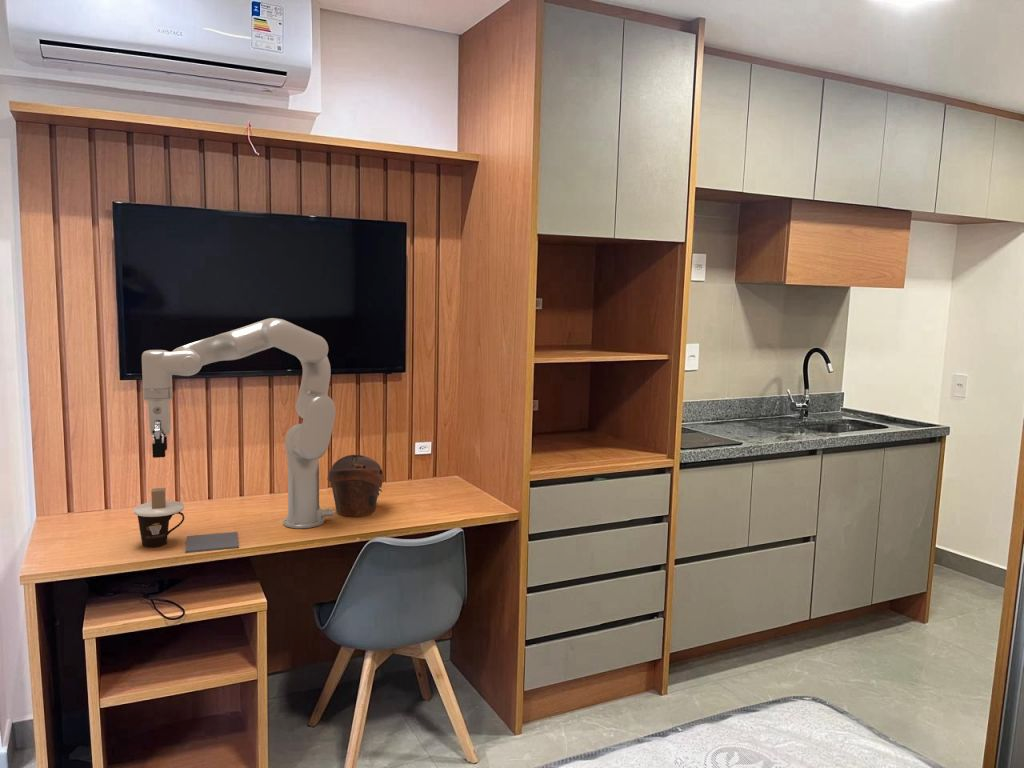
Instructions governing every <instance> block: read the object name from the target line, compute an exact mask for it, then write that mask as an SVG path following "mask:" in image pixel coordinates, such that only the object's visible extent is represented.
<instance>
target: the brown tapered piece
mask: <svg viewBox="0 0 1024 768" xmlns="http://www.w3.org/2000/svg"><path fill="white" fill-rule="evenodd" d="M383 472H384V471H383V468H382V467H381V466H380V464H379V463H378V462H377V461H376V460H374V459H372V458H370V457H368V456H365V455H361V454H350V455H349V454H348V455H345V456H342V457H340V458H339V459H337V461H335V462H334V463H333V464H332V466H331V468H330V470H329V471H328V476H327V482H328V483H329V482H330V485H331V489H332V495H333V500H334V505H335V513H336V514H338V515H340V516H344V517H345V516H346V517H350V518H351V517H352V518H354V517H355V518H356V517H364V516H365V517H366V516H368V515H369V516H370V515H372V514H373V513H374V512H375V511H376V507H377V501H378V497H379V496H380V492H381V493H383V491H382V486H383V479H384V473H383Z"/></svg>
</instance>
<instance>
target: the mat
mask: <svg viewBox="0 0 1024 768" xmlns="http://www.w3.org/2000/svg"><path fill="white" fill-rule="evenodd" d="M238 535H239V533H238V531H229V532H220V533H219V532H217V533H207V534H206V533H205V534H193V535H187V536H186V542H185V553H187V554H189V553H198V552H199V553H200V552H208V551H220V550H231V549H232V550H233V549H239V548H240V544H239V536H238Z"/></svg>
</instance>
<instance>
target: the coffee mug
mask: <svg viewBox="0 0 1024 768" xmlns="http://www.w3.org/2000/svg"><path fill="white" fill-rule="evenodd" d="M174 515H181V517H182V519H181V520H180V522H179V523H178V524H176V525H175V526H174V527H173V528H171V529H169V526H170V525H169V524H170V520H171V518H172V517H173V516H174ZM184 520H185V515H184V513H183V512H182V511H181V512H179V513H176V514H172V515H167V516H158V517H144V516H138V515H137V521H138V526H139V533H140V539H141V545H142V547H143V548H147V549H148V548H149V549H151V548H153V549H156V548H160V547H163V546H165V545H167V544H168V536H169V535H170V533H172V532H173V531H175V529H177V528H178V527H180V526H181V525H182V524H183V522H184Z"/></svg>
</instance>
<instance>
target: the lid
mask: <svg viewBox="0 0 1024 768" xmlns="http://www.w3.org/2000/svg"><path fill="white" fill-rule="evenodd" d="M166 493H167V491H166V487H159V488H151V501H149V502H145V503H141V504H139V505H136V506H134V507H133V514H134V515H136V516H137V517H138V516H144V517H158V516H167V515H172V514H174V515H177V514H176V513H179V512H181V513H182V511H184V510H185V504H184V503H183V502H181V501H177V500H167V494H166Z"/></svg>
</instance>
